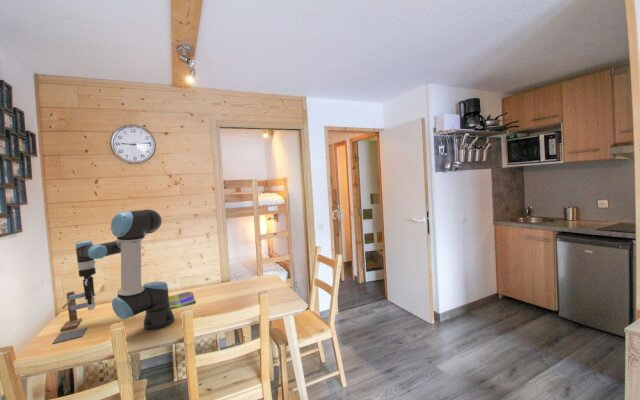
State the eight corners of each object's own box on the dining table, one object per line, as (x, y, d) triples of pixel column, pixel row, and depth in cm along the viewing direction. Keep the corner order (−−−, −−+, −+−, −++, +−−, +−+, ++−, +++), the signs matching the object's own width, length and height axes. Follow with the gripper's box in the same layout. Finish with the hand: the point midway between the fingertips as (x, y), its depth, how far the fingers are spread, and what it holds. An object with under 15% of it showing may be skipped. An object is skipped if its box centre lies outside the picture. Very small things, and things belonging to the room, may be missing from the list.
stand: (74, 331, 163) (70, 298, 162) (58, 335, 160) (54, 301, 159) (81, 320, 178) (78, 290, 178) (67, 323, 175) (63, 293, 174)
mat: (82, 337, 155) (81, 335, 155) (52, 344, 150) (52, 343, 150) (87, 328, 166) (87, 327, 166) (59, 334, 160) (59, 333, 160)
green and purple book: (165, 311, 183) (165, 307, 183) (165, 300, 204) (165, 296, 204) (196, 304, 191) (195, 300, 191) (192, 294, 212) (192, 290, 212)
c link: (93, 304, 171) (92, 290, 170) (93, 305, 169) (91, 292, 168) (71, 309, 166) (70, 295, 166) (70, 310, 164) (68, 296, 164)
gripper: (92, 269, 163) (97, 311, 164) (97, 264, 177) (102, 303, 178) (75, 272, 160) (80, 315, 161) (81, 267, 173) (86, 306, 174)
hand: (91, 308), depth 169 cm, fingers closed on c link, 2 cm apart
